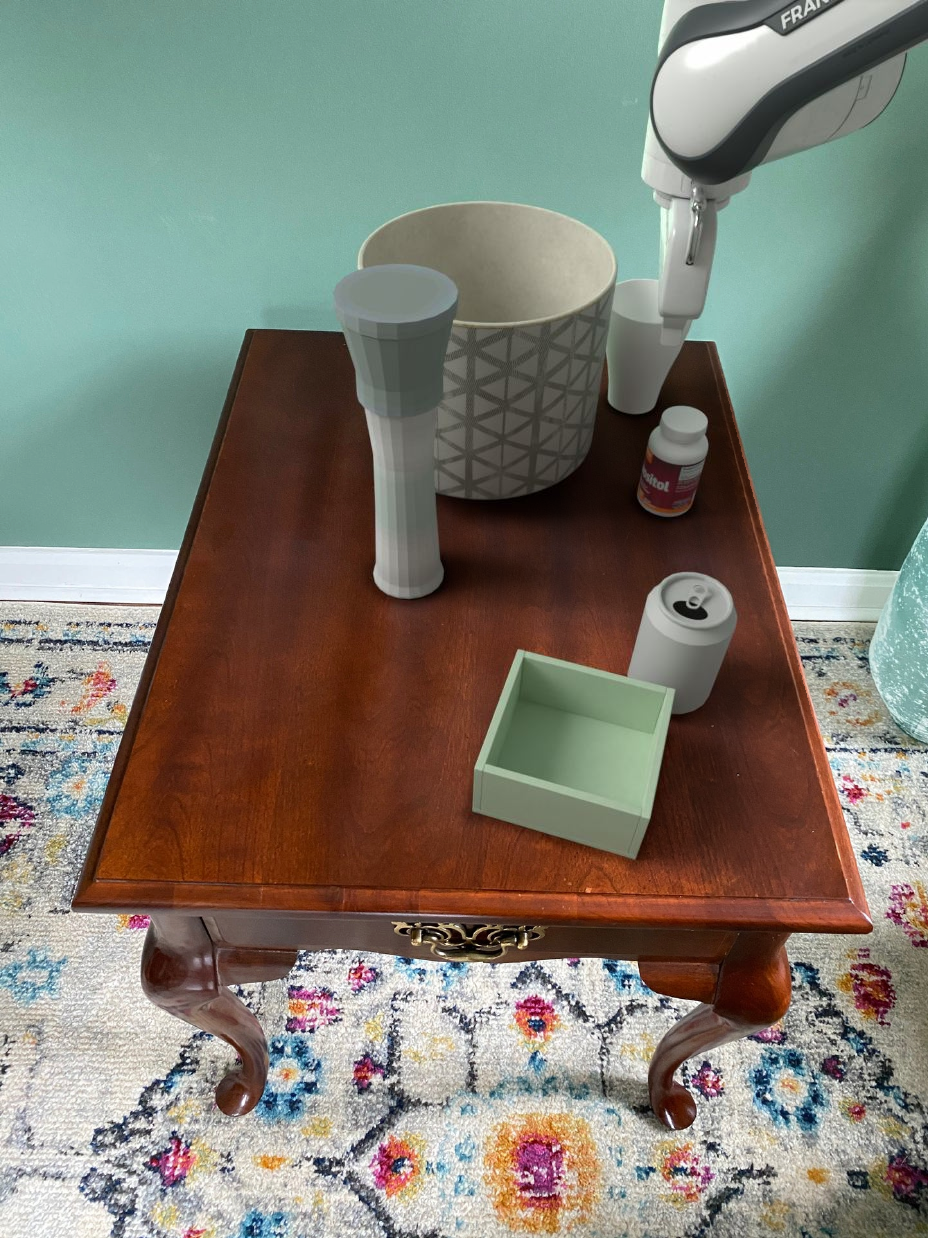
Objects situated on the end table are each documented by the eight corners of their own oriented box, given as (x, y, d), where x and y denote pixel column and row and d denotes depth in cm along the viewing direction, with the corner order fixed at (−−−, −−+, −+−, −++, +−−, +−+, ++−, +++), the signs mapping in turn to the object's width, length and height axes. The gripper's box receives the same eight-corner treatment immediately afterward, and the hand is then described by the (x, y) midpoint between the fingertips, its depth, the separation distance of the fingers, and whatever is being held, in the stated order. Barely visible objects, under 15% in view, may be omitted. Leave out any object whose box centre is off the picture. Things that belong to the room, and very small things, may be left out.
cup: (587, 375, 112) (602, 276, 102) (668, 379, 112) (690, 279, 102) (592, 423, 105) (608, 322, 95) (678, 426, 105) (703, 325, 95)
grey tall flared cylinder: (472, 564, 88) (481, 283, 66) (420, 621, 83) (411, 336, 61) (397, 530, 92) (381, 253, 70) (342, 583, 86) (307, 300, 64)
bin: (660, 734, 75) (676, 689, 70) (635, 860, 67) (650, 819, 62) (513, 695, 77) (518, 648, 72) (472, 811, 70) (474, 768, 65)
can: (613, 699, 77) (636, 610, 68) (642, 643, 82) (666, 552, 73) (693, 732, 75) (727, 645, 66) (718, 673, 79) (753, 583, 70)
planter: (613, 421, 105) (646, 226, 87) (548, 553, 90) (572, 349, 72) (426, 375, 111) (422, 184, 93) (336, 492, 96) (309, 289, 78)
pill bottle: (625, 492, 96) (642, 409, 88) (670, 476, 98) (690, 394, 90) (657, 525, 93) (678, 442, 85) (703, 509, 95) (727, 426, 87)
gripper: (744, 211, 62) (707, 379, 72) (733, 116, 76) (702, 268, 86) (656, 206, 63) (631, 373, 73) (660, 112, 76) (639, 264, 87)
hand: (670, 316), depth 80 cm, fingers open, 8 cm apart
